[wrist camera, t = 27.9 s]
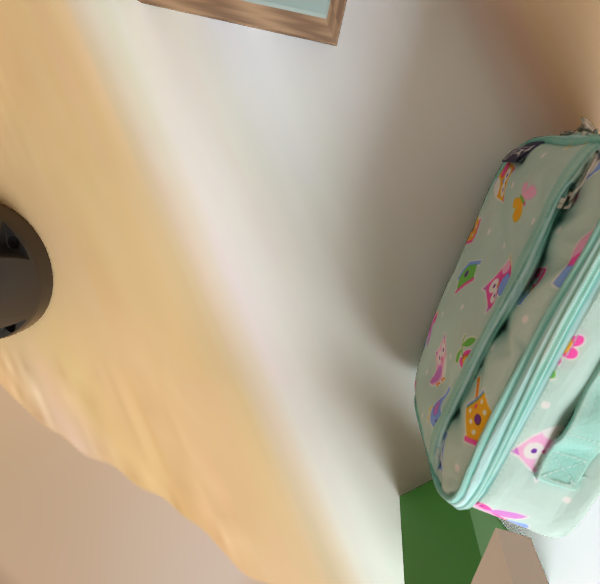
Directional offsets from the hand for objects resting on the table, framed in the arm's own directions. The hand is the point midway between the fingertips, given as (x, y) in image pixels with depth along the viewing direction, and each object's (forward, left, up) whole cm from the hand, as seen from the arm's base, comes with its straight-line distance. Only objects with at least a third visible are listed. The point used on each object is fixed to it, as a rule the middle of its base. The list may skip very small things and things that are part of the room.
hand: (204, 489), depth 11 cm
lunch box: (+16, 0, -37) cm, 40 cm away
